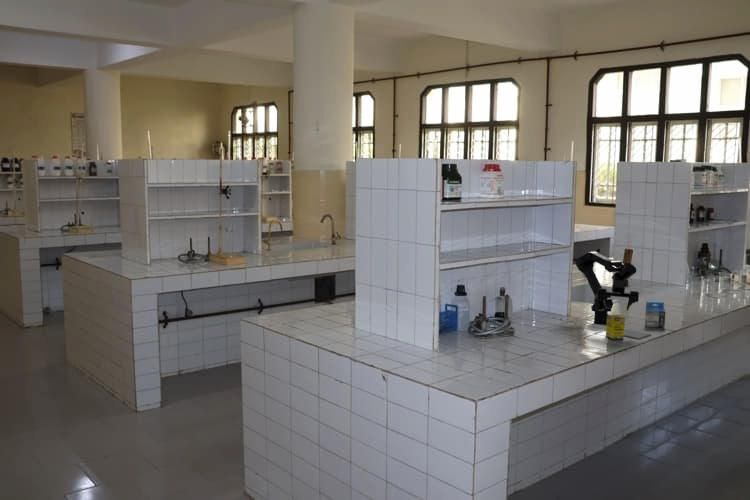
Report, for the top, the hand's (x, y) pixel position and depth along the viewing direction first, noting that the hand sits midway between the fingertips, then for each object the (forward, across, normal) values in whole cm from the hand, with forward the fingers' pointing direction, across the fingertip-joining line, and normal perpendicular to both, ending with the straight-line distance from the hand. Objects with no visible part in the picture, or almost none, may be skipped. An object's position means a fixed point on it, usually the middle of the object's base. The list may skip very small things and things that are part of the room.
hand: (616, 309), depth 323 cm
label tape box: (-10, +18, +28) cm, 35 cm away
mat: (+6, +8, +12) cm, 15 cm away
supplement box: (+14, 0, +4) cm, 15 cm away
